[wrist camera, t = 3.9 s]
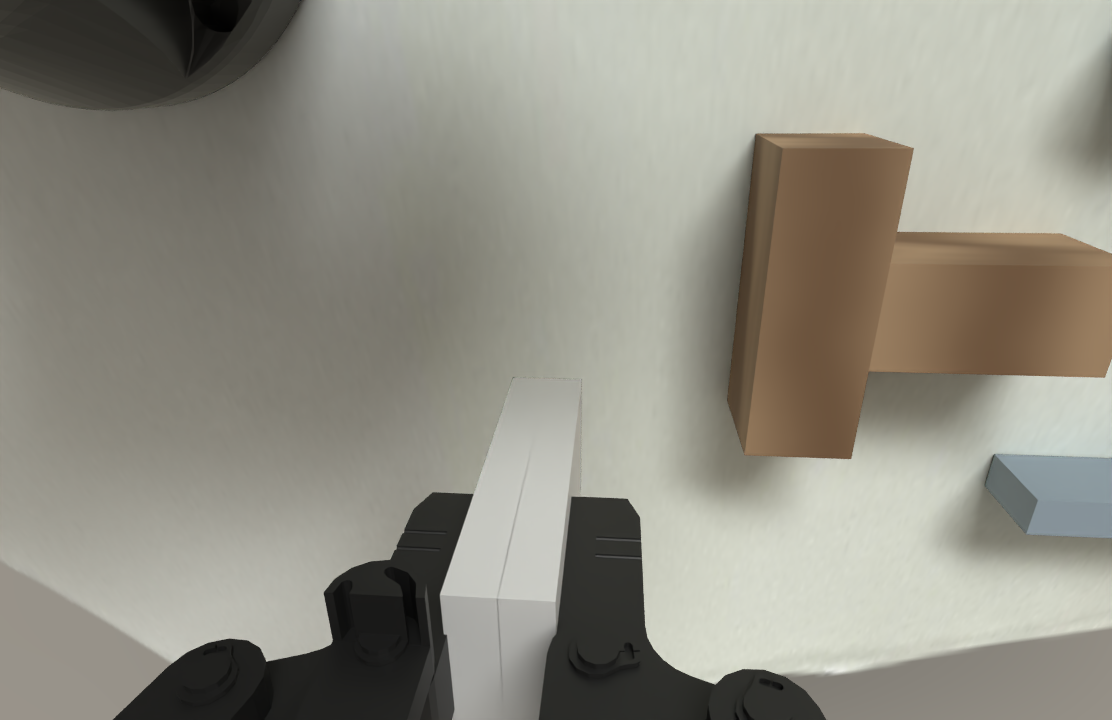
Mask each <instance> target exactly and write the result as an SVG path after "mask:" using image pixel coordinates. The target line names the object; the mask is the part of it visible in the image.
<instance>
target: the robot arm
mask: <svg viewBox="0 0 1112 720" xmlns="http://www.w3.org/2000/svg"><path fill="white" fill-rule="evenodd" d="M300 1H301V0H0V88H2V89H5V90H8V91H11V92H14V93H17V94H20V95H23V96H26V97H29V98H32V99H36V100H40V101H43V102H47V103H51V104H56V105H61V106H66V107H73V108H82V109H90V110H129V109H139V108H149V107H159V106H167V105H174V104H179V103H184V102H188V101H192V100H195V99H198V98H201V97H204V96H206V95H208V94H211V93H213V92H215V91H218V90H219V89H221V88H223V87H225V86H227V85H228V84H230V83H232V82H233V81H235V80H236V79H238V78H239V77H241V76H242V75H244V74H245V73H246V72H247V71H248V70H250V69H251V68H252V67H253V66H254V65H256V64H257V62H258V61H259V60H260V59H261V58H262V57H263V56H264V55H265V54H266V53H267V52H268V51H269V50H270V49H271V47H272V46H273V45H274V44H275V43H276V41H277V40H278V39H279V37H280V36H281V34H282V33H283V31H284V30H285V29H286V27H287V25H288V24H289V22H290V20H291V18H292V17H293V15H294V13H295V11H296V9H297V7H298V5H299V3H300ZM581 408H582V379H560V378H525V377H513V379H512V382H511V385H510V388H509V391H508V394H507V397H506V400H505V403H504V406H503V409H502V412H501V415H500V418H499V421H498V424H497V427H496V430H495V433H494V436H493V439H492V442H491V445H490V448H489V451H488V454H487V456H486V459H485V462H484V465H483V468H482V471H481V474H480V477H479V480H478V483H477V486H476V489H475V492H474V494H458V493H435V492H433V493H432V494H430V495H429V496H428V497H427V498H426V499H425V500H424V501H423V502H421V503H420V504H419V505H418V506H417V507H416V508H415V509H414V510H413V512H412V514H411V516H410V518H409V521H408V523H407V525H406V527H405V531H404V533H403V534H402V536H401V538H400V540H399V542H398V544H397V550H395V551H394V553H393V555H392V558H391V560H384V561H372V562H368V563H365V564H362V565H359V566H356V567H353V568H351V569H349V570H348V571H346V572H345V573H343V574H342V575H340V576H339V577H337V578H336V579H334V581H333V582H332V583H331V584H330V585H329V587H328V588H327V589H326V590H325V591H324V597H325V602H326V607H327V612H328V617H329V622H330V627H331V633H332V638H333V642H332V644H331V645H329V646H327V647H325V648H323V649H320V650H317V651H314V652H310V653H307V654H302V655H298V656H293V657H288V658H283V659H278V660H273V661H268V662H266V660H265V658H264V655H263V653H262V651H261V649H260V648H259V647H258V646H256V645H254V644H252V643H251V642H249V641H247V640H237V639H225V640H220V641H215V642H210V643H207V644H205V645H202V646H200V647H198V648H196V649H194V650H191V651H189V652H187V653H186V654H184V655H183V656H182V657H180V658H179V659H178V660H176V661H175V662H174V663H172V664H171V665H170V666H169V667H167V668H166V669H165V670H164V671H163V672H162V673H161V674H160V675H159V676H158V677H157V678H156V679H155V680H154V681H153V682H152V683H151V684H150V685H149V686H147V687H146V688H145V689H144V690H143V691H142V692H141V693H140V694H139V695H138V696H137V697H136V698H135V699H134V700H133V701H132V702H131V703H130V704H129V705H128V706H127V707H126V708H124V709H123V711H121V712H120V713H119V714H118V715H117V716H116V717H115V718H114V719H113V720H452V718H453V720H826V719H825V717H824V715H823V713H822V712H821V710H820V708H819V707H818V706H817V704H816V703H815V702H814V701H813V700H812V698H811V697H810V696H809V695H808V694H807V692H806V691H805V690H804V689H802V688H801V687H799V686H798V685H796V684H795V683H793V682H792V681H790V680H789V679H788V678H786V677H784V676H781V675H778V674H775V673H772V672H769V671H766V670H751V669H742V670H740V671H737V672H734V673H731V674H728V675H725V676H724V677H723V678H722V679H721V680H720V681H719V682H718V683H717V684H716V685H715V684H712V683H709V682H706V681H703V680H700V679H697V678H695V677H692V676H689V675H687V674H685V673H683V672H681V671H679V670H676V669H675V668H673V667H672V666H671V665H669V664H668V663H667V662H665V661H664V660H663V659H662V658H661V657H660V656H659V655H658V654H657V653H656V651H655V650H654V649H653V647H652V645H651V644H650V642H649V640H648V638H647V633H646V628H645V615H644V594H643V572H642V551H641V529H640V517H639V515H638V514H637V512H636V511H635V509H634V508H633V506H632V505H631V504H630V502H629V501H628V499H619V498H596V497H580V490H581Z"/></svg>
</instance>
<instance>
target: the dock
mask: <svg viewBox="0 0 1112 720" xmlns="http://www.w3.org/2000/svg"><path fill="white" fill-rule="evenodd" d="M985 487H986V488H987V489H988V490H989V492H990V493H991V494H992V495H993V496H994V497H995V499H996V500H997V501H998V502H999V503H1000V504H1001V506H1002V507H1003V508H1004V509H1005V510H1006V511H1007V513H1008V514H1009V515H1010V516H1011V517H1012V518H1013V520H1014V521H1015V522H1016V523H1017V524H1018V525H1019V527H1020V528H1021V529H1022V530H1023V531H1024V533H1025V534H1028V535H1050V536H1073V537H1095V538H1112V458H1087V457H1058V456H1030V455H1002V454H994V457H993V461H992V464H991V467H990V470H989V474H988V477H987V480H986V484H985Z"/></svg>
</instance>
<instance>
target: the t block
mask: <svg viewBox="0 0 1112 720" xmlns="http://www.w3.org/2000/svg"><path fill="white" fill-rule="evenodd" d="M913 150H914V148H911V147H908V146H904V145H901V144H898V143H894V142H891V141H888V140H885V139H881V138H878V137H875V136H872V135H868V134H865V133H833V134H756V137H755V147H754V156H753V165H752V174H751V184H750V193H749V202H748V212H747V221H746V230H745V240H744V249H743V258H742V267H741V277H740V286H739V295H738V305H737V314H736V323H735V333H734V342H733V351H732V360H731V370H730V379H729V388H728V398H727V401H728V404H729V408H730V411H731V414H732V417H733V420H734V423H735V426H736V430H737V433H738V436H739V439H740V442H741V445H742V448H743V452H744V455H754V456H781V457H809V458H836V459H851V457H852V452H853V447H854V442H855V437H856V432H857V427H858V422H859V417H860V412H861V407H862V402H863V397H864V392H865V387H866V382H867V377H868V373H869V371H872V372H910V373H949V374H987V375H1026V376H1064V377H1103V378H1105V376H1106V373H1107V370H1108V367H1109V365H1110V362H1111V359H1112V254H1111V253H1108V252H1106V251H1103V250H1101V249H1098V248H1096V247H1093V246H1091V245H1088V244H1086V243H1083V242H1081V241H1078V240H1076V239H1073V238H1071V237H1068V236H1066V235H1063V234H1051V233H946V232H897V229H898V224H899V219H900V214H901V209H902V204H903V199H904V194H905V189H906V184H907V180H908V175H909V170H910V165H911V160H912V155H913Z"/></svg>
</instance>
